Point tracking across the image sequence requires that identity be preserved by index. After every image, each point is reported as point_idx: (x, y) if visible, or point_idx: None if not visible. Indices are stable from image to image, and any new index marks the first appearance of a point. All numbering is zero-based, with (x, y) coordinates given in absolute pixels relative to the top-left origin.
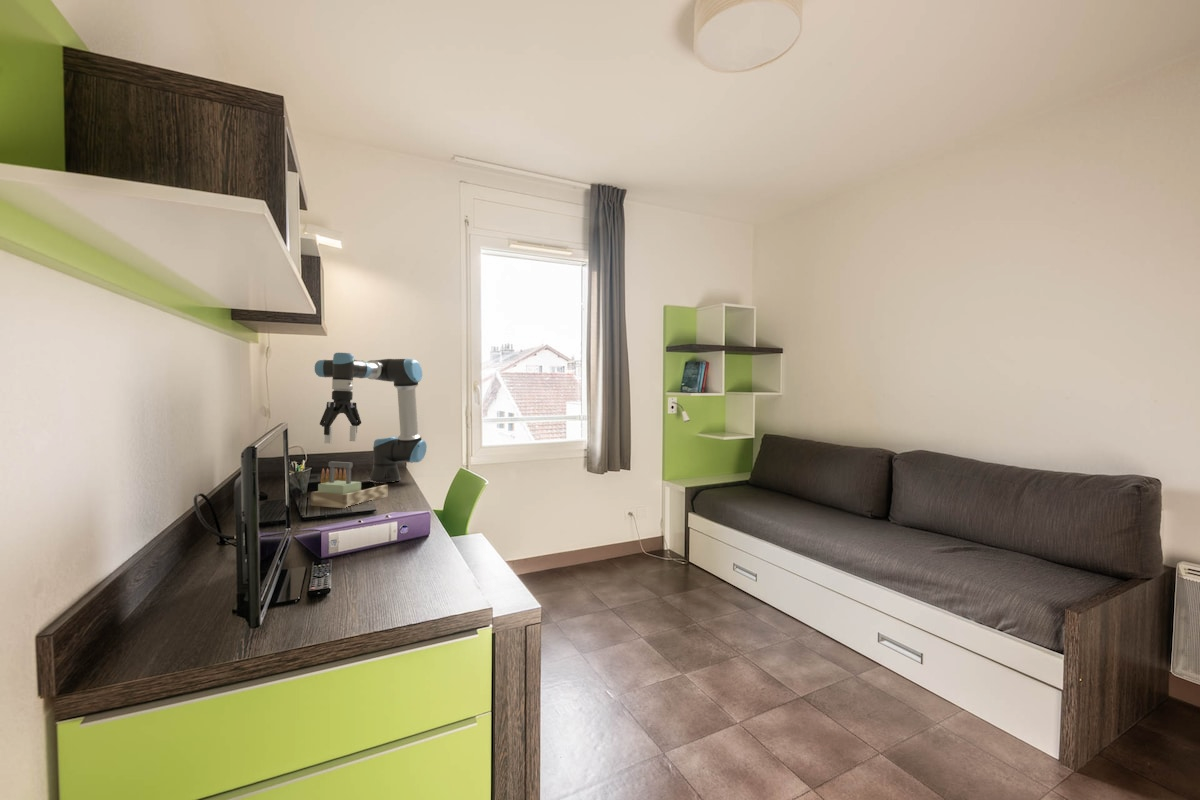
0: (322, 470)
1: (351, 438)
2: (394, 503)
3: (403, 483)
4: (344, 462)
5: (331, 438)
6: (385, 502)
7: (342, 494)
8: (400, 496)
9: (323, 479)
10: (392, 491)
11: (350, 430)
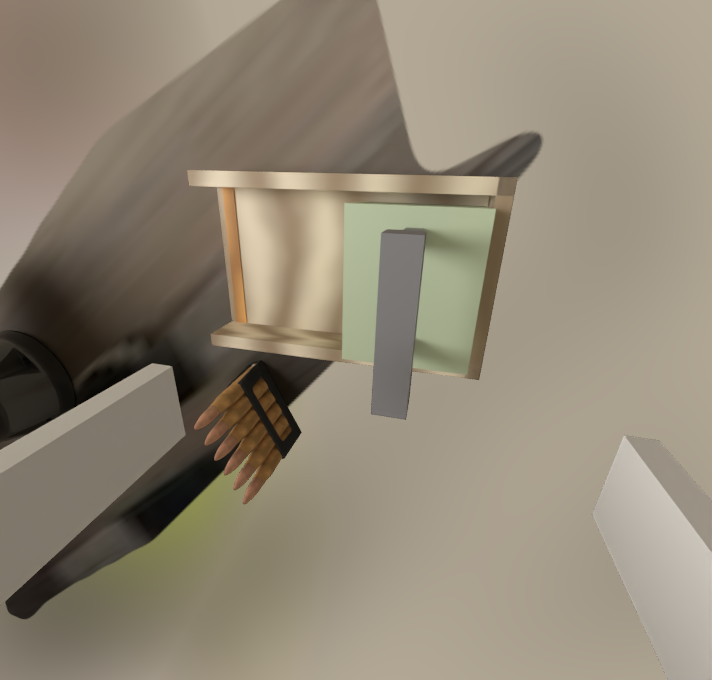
0: (253, 496)
1: (155, 432)
2: (339, 5)
3: (12, 297)
4: (399, 299)
5: (682, 496)
6: (332, 79)
7: (505, 200)
8: (194, 115)
9: (270, 462)
10: (134, 233)
11: (51, 544)
